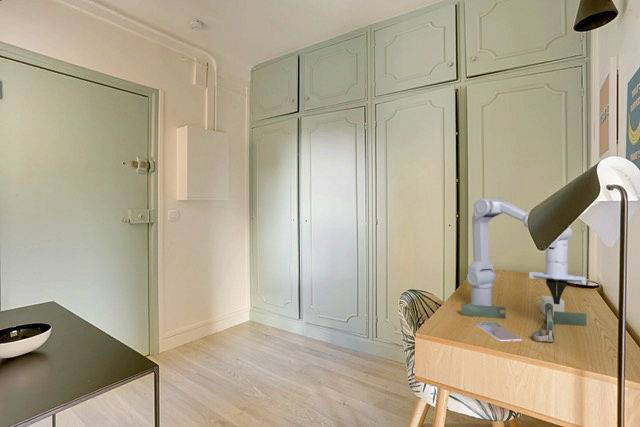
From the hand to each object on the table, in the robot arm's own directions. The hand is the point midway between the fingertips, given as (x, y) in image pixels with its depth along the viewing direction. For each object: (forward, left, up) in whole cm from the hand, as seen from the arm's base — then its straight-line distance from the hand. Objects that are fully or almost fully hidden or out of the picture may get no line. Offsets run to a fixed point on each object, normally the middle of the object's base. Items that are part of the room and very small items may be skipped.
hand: (556, 303), depth 102 cm
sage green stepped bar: (-2, -1, -9) cm, 9 cm away
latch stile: (-11, -19, -9) cm, 24 cm away
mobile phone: (+3, -18, -10) cm, 21 cm away
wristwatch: (+5, -8, -8) cm, 12 cm away
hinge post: (-10, +6, -9) cm, 15 cm away
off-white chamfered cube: (-21, +6, -10) cm, 24 cm away
